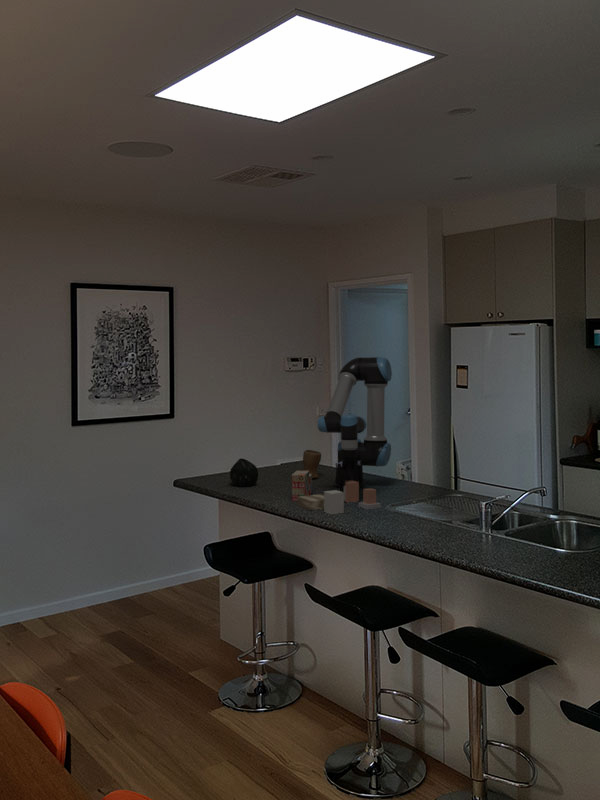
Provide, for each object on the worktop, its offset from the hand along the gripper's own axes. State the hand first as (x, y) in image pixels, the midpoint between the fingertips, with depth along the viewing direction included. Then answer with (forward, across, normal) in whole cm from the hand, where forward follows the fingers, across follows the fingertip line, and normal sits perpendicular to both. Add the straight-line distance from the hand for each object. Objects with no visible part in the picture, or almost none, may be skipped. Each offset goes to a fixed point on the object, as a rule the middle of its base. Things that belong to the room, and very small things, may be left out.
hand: (349, 499), depth 344 cm
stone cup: (+1, -17, -66) cm, 68 cm away
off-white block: (+1, +19, +17) cm, 26 cm away
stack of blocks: (+1, +12, -21) cm, 25 cm away
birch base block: (+1, +19, +2) cm, 19 cm away
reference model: (+1, 0, +16) cm, 16 cm away
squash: (+1, +23, -63) cm, 67 cm away
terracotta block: (+1, 0, 0) cm, 1 cm away
